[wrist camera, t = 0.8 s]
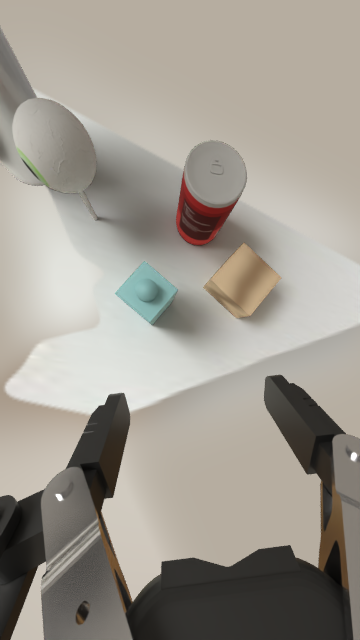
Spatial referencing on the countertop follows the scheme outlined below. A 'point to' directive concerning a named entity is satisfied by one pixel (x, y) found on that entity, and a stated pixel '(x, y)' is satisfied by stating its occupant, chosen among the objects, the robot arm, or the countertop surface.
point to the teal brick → (147, 292)
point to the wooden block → (242, 282)
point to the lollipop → (55, 147)
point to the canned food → (209, 190)
